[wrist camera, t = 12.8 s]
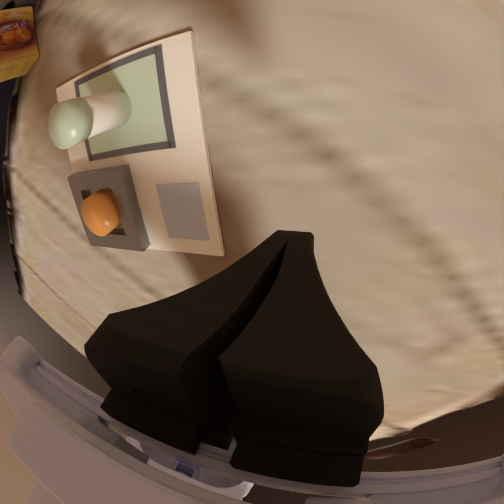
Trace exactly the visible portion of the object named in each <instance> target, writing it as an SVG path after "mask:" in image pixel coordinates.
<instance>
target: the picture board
mask: <svg viewBox="0 0 504 504" xmlns="http://www.w3.org/2000/svg"><path fill="white" fill-rule="evenodd" d="M114 90H122V91H124V92H125V93H126V94H127V95H128V96H129V98H130V101H131V106H132V110H131V115H130V118H129V120H128V121H127V122H126V124H124V125H123V126H120V127H117V128H114V129H111V130H108V131H106V132H103V133H100V134H98V135H95V136H92V137H90V138H88V139H86V140H85V141H83V142H81V143H78V144H76V145H74V146H71V147H69V148H67V151H68V155H69V159H70V163H71V167H72V170H73V174H74V173H77V172H82V171H88V170H94V169H100V168H106V167H113V166H119V165H127V164H129V167H130V171H131V175H132V179H133V183H134V187H135V191H136V195H137V199H138V203H139V206H140V210H141V214H142V217H143V221H144V224H145V228H146V231H147V234H148V238H149V241H150V244H151V245H150V246H149V247H148V248H147V249H156V250H165V251H175V252H184V253H194V254H204V255H213V256H224V254H225V252H224V246H223V241H222V235H221V229H220V223H219V217H218V210H217V204H216V198H215V192H214V185H213V179H212V172H211V166H210V159H209V152H208V145H207V138H206V131H205V124H204V116H203V109H202V101H201V94H200V86H199V78H198V69H197V61H196V52H195V43H194V34H193V31H188V32H185V33H181V34H178V35H174V36H171V37H168V38H165V39H162V40H159V41H156V42H153V43H150V44H148V45H145V46H142V47H140V48H137V49H135V50H132V51H130V52H127V53H125V54H122V55H120V56H118V57H116V58H113V59H111V60H109V61H107V62H105V63H102V64H100V65H98V66H96V67H94V68H92V69H90V70H88V71H87V72H85V73H83V74H81V75H79V76H77V77H75V78H74V79H72V80H70V81H68V82H67V83H65V84H63V85H62V86H60V87H58V88H57V89H56V93H57V100H58V102H61V101H65V100H68V99H72V98H76V97H85V96H90V95H94V94H99V93H104V92H109V91H114ZM103 189H106V190H109V191H110V192H112V193H113V190H112V188H103ZM99 190H101V189H92V190H90V192H91V195H92V194H94V193H96V192H97V191H99ZM116 228H122V229H124V227H123V224H122V222H121V223H120V224H119V225H118V226H117V227H116Z"/></svg>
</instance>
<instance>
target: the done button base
mask: <svg viewBox="0 0 504 504" xmlns="http://www.w3.org/2000/svg"><path fill="white" fill-rule="evenodd" d="M68 180H69V184H70V187H71V190H72V194H73V197H74V200H75V203H76V206H77V209H78V212H79V215H80V218H81V221H82V223H83V226H84V229H85V232H86V234H87V237H88V239H89V242H90V245H93V246H102V247H110V248H118V249H127V250H135V251H145V250H146V249H147V248H148V247H149V246H150V245H151V244H150V241H149V238H148V234H147V231H146V228H145V224H144V221H143V217H142V214H141V210H140V206H139V203H138V199H137V195H136V191H135V187H134V183H133V179H132V175H131V171H130V167H129V164H127V165H119V166H113V167H106V168H100V169H94V170H88V171H82V172H77V173H74V174H73V175H71V176H69V177H68ZM103 188H112V190H113V194H114V197H115V201H116V204H117V208H118V211H119V214H120V218H121V221H122V224H123V227H124V229H122V228H114V229H113V230H112V231H111V232H109V233H108V234H107V235H106V236H98V235H96V234H94V233H93V232H92V231H90V229H89V228H88V227H87V226H86V224H85V222H84V220H83V218H82V214H81V204H82V202H83V200H85V199H86V198H88V197H89V196H91V192H90V190H92V189H103Z"/></svg>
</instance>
